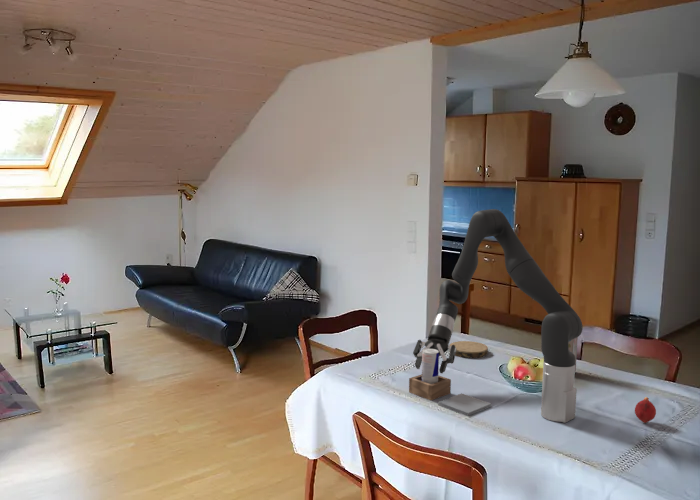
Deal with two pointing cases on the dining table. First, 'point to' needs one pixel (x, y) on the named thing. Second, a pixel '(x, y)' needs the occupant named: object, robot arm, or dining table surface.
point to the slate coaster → (464, 404)
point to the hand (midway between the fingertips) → (429, 370)
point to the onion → (645, 410)
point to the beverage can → (430, 365)
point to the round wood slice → (470, 349)
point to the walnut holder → (430, 387)
